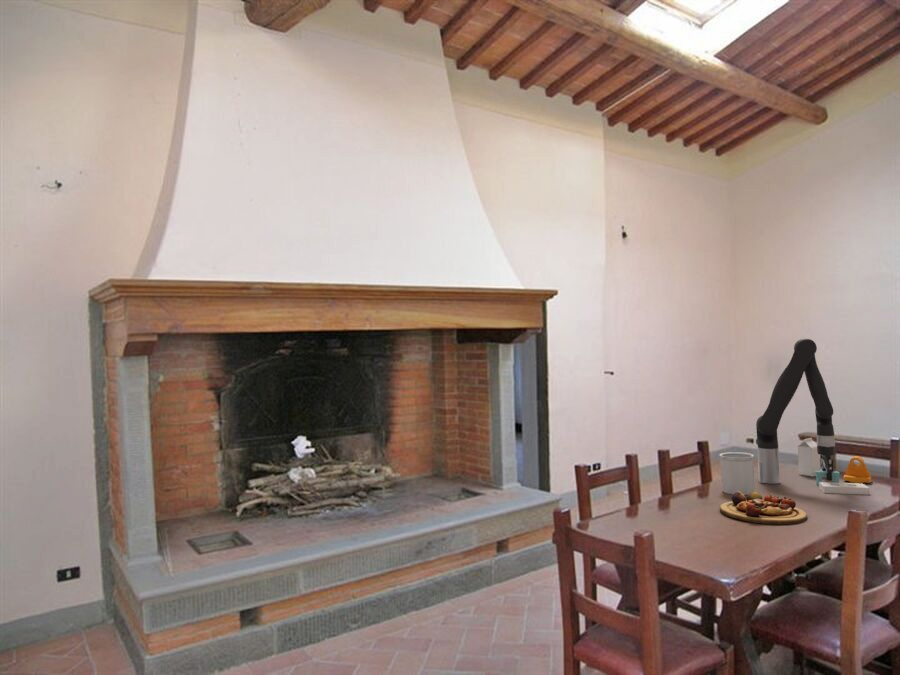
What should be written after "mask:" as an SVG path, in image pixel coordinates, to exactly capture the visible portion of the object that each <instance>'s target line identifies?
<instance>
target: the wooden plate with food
mask: <svg viewBox="0 0 900 675" xmlns="http://www.w3.org/2000/svg"><path fill="white" fill-rule="evenodd" d="M783 497H784V498H780V497H779V496H777V497H776V496H772V494H769V493H768V494H766V495H764V499H763V496H762V494H760V493H759V492H757V491H756V490H755V491H753V492H751V493H749V494H748V495H743V494H742V493H741V492H740V491H737V492H735V493H734V494H731V501H728V502H724V503H722V504H720V505H719V511H720V512H721V513H722V514H723V515H725V516H727V517H730V518H732V519H734V520H739V521H744V522H749V523H755V524H756V523H757V524H762V525H763V524H765V525H796V524H801V523H803V522H805V521H806V520H808V514H807V512H805V511H804V510H803V509H800V508H797V506H796V505H797V504H796V501H795V500H794V499H793V498H787V497H786V496H783Z"/></svg>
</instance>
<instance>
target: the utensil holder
mask: <svg viewBox="0 0 900 675" xmlns="http://www.w3.org/2000/svg"><path fill="white" fill-rule="evenodd" d="M719 458H720V461H719V462H720V471H721V484H722V492H724V493H726V494H729V495H733V494H734V493H735V492H737V491H740V492H741V493H742V494H743V495H744V496H747V495H748V494H749V493H751V492H753V491H756V490H755V467H754V464H755V463H754V462H755V461H754V459H755V456H754V454H752V453H749V452H737V451H736V452H735V451H734V452H733V451H731V452H721V453H719Z"/></svg>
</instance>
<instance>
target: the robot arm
mask: <svg viewBox="0 0 900 675" xmlns="http://www.w3.org/2000/svg"><path fill="white" fill-rule="evenodd" d="M817 349H818V347H817V344H816V342H815V341H814V340H812V339H811V338H810V339H809V338H801V339H798V340H797V341H796V342H795V343H794V345H793V350H794V351H793V354H792V357H791V359H790V361H789V363H788V364H787V365H786V367H785V368H784V370H783V371H782V373H781V374H780V376H779V377H778V379H777V381H776V383H775V385H774V387H773V389H772V393H771V397H770V400H769V403H768V405H767V407H766V409H765V412H764V413H763V414H762V415H761V416H759V417H758V418H757V420H756V424H755V425H756V442H757V443H756V444H757V474H758V476H757V480H758V481H759V483H761V484H770V485H771V484H780V483H781V479H780V478H781V476H780V457H779V456H780V454H779V453H780V452H779V440H778V439H779V438H778V429H779V425H780V422H781V419H782V417H783V415H784V412H785V410H786V409H787V407H788V405H789V404H790V403H791V401H792V399H793V397H794V395H795V393H796V392H797V389H798V388H799V385H800V383H801V380H802V378H803V375H805V379H806V383H807V387H808V391H809V392H810V395H811V398H812V400H813V403H814V406H815V410H814V412H815V420H816V444H817V453H818V454H819V458H820V468H821V469H822V470H821V471H826V477H825V478H826V480H827V481H828V482H830V481H831V482H833V477H832V472H834V460H833V459H832V456H835V455H836V441H835V432H834V431H835V430H834V429H835V428H834V425H833V417H832V416H833V415H834V408H833V405H832V403H831V401H830V397H829V394H828V390H827V387H826V384H825V381H824V378H823V376H822V374H821V372H820V369H819V367H818V364H817V360H816V352H817Z"/></svg>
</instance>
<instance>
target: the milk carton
mask: <svg viewBox="0 0 900 675" xmlns="http://www.w3.org/2000/svg"><path fill="white" fill-rule="evenodd" d="M797 457H798V458H797V459H798V460H797V462H798V475H800V476H805V477H816V476H815V471H821V461H820V455H819V454H818V453H817V442H816V441H814V440H813V437H809V438H805V439H803V440H802V441H801V443H800V444H799V445H798V446H797Z"/></svg>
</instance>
